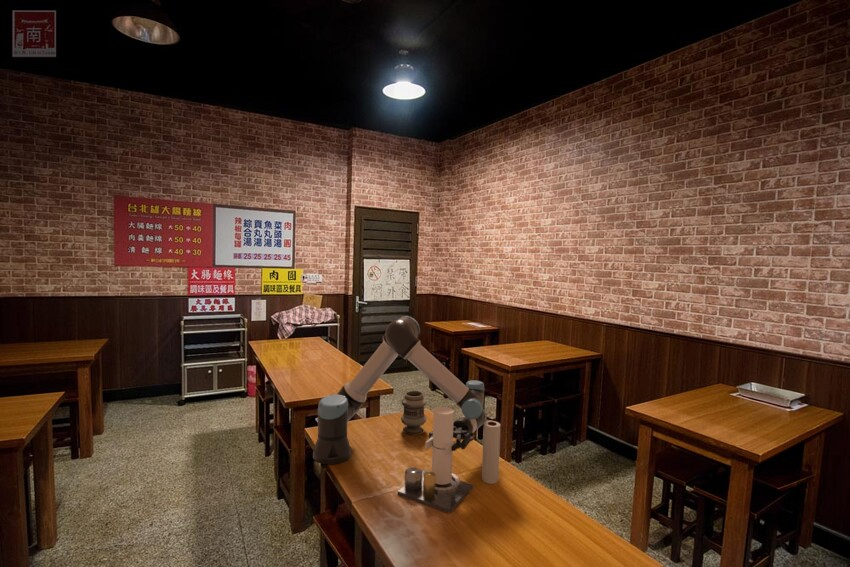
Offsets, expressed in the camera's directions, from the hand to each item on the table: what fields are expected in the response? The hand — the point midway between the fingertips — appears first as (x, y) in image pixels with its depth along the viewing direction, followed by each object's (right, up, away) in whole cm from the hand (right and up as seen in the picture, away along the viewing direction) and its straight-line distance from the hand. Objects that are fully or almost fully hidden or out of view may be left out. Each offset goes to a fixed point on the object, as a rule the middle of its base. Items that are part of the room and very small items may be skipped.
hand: (436, 448), depth 144 cm
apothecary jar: (-9, -13, +53) cm, 55 cm away
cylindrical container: (+2, -13, +5) cm, 14 cm away
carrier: (0, -15, +2) cm, 16 cm away
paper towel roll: (+20, -16, +11) cm, 28 cm away
